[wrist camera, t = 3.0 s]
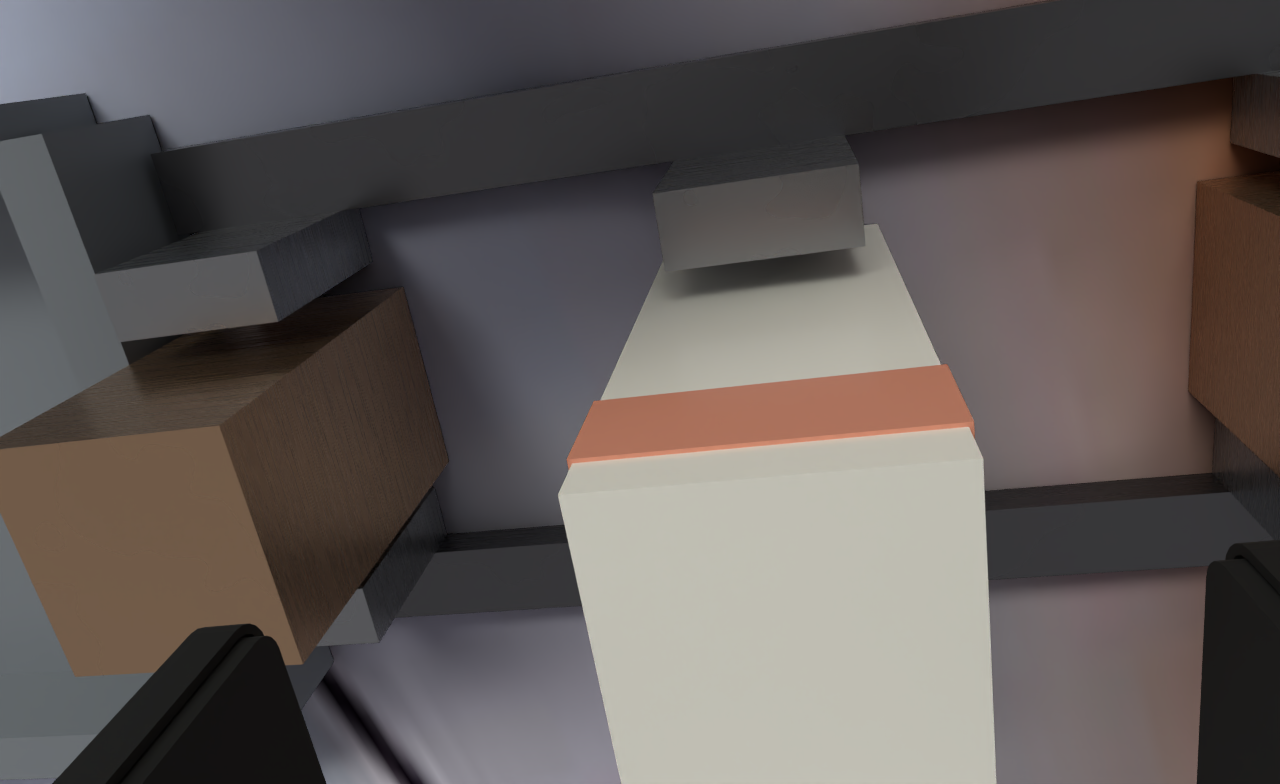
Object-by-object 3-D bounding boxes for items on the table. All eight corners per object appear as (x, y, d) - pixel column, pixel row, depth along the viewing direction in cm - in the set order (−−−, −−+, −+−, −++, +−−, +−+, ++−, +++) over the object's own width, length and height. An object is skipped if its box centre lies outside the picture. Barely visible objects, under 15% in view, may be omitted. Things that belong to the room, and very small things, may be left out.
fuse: (879, 220, 18) (987, 452, 9) (895, 420, 19) (1002, 802, 10) (664, 249, 18) (552, 490, 9) (694, 440, 20) (623, 810, 11)
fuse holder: (1486, -74, 15) (2029, -133, 8) (1402, 530, 19) (1732, 808, 12) (174, 148, 19) (-133, 222, 13) (325, 603, 23) (148, 837, 16)
